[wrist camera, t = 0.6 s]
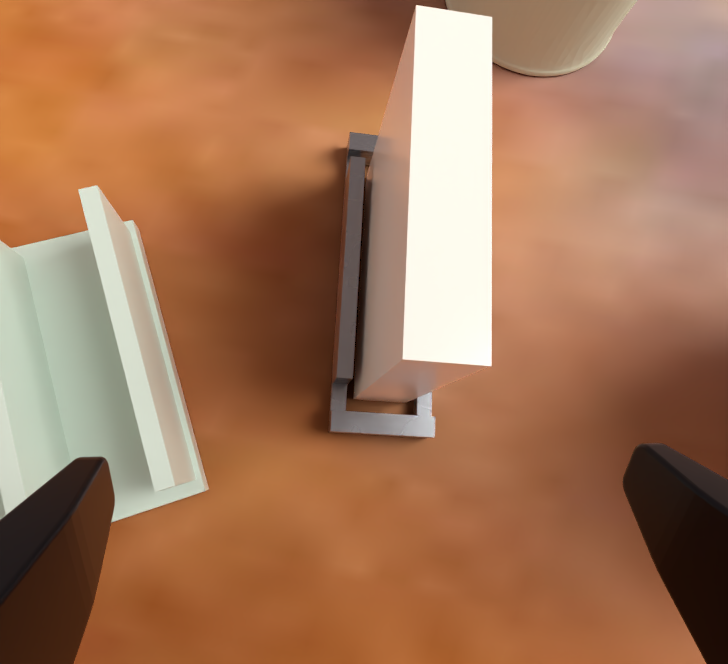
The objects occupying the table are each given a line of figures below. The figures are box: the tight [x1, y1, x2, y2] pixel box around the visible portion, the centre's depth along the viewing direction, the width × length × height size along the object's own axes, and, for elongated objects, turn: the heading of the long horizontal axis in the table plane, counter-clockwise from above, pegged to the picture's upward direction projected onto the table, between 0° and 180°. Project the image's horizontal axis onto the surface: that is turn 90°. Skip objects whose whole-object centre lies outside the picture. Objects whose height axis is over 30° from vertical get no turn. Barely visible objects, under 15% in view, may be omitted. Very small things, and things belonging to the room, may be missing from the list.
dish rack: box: [0, 186, 209, 522], centre depth 19 cm, size 11×9×5 cm
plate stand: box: [328, 132, 435, 438], centre depth 23 cm, size 13×4×2 cm, turn 177°
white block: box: [353, 5, 492, 403], centre depth 19 cm, size 10×2×10 cm, turn 177°
